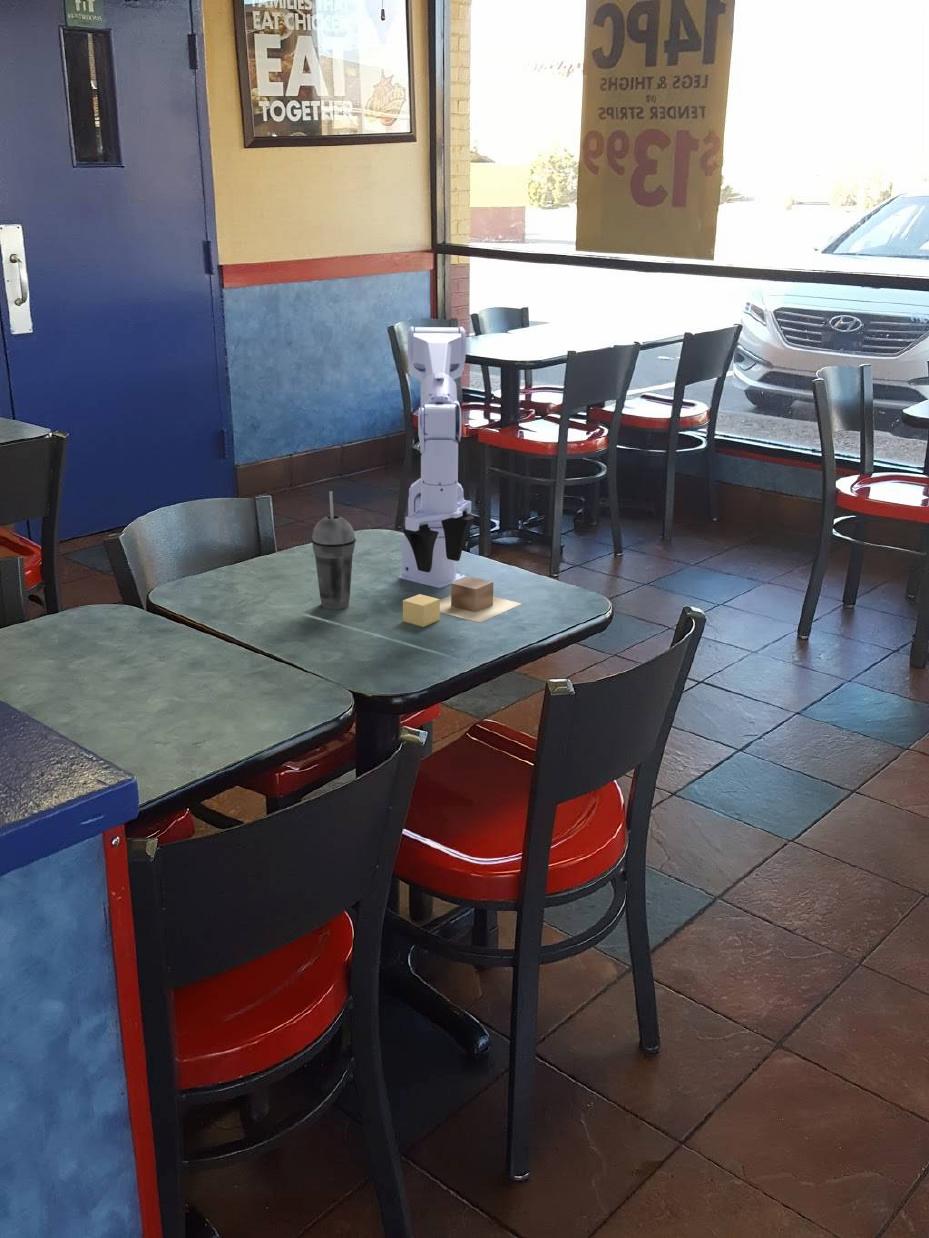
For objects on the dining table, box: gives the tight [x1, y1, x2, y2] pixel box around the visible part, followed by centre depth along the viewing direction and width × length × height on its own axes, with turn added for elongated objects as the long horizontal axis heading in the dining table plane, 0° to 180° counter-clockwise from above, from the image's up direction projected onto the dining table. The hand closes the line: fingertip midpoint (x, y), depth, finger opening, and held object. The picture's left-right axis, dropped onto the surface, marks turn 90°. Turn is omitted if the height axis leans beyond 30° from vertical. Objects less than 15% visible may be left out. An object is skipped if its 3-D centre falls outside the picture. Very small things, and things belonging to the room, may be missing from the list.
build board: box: [440, 594, 522, 624], centre depth 201 cm, size 12×12×1 cm
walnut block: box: [450, 575, 494, 612], centre depth 200 cm, size 5×5×4 cm
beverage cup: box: [311, 490, 357, 610], centre depth 197 cm, size 7×7×20 cm
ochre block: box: [402, 593, 441, 628], centre depth 193 cm, size 4×4×4 cm
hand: (439, 565), depth 191 cm, fingers open, 7 cm apart
